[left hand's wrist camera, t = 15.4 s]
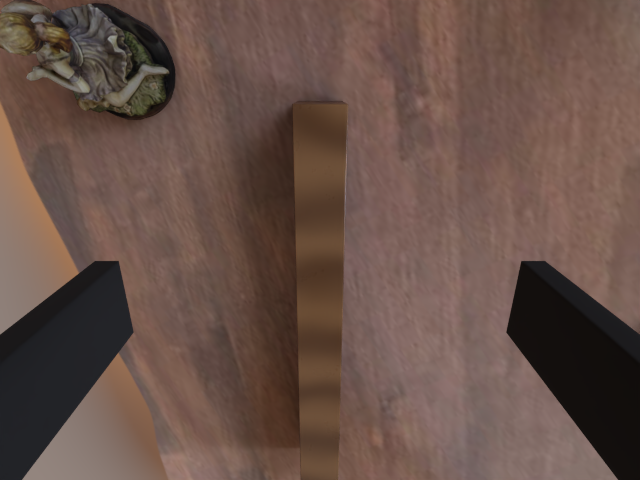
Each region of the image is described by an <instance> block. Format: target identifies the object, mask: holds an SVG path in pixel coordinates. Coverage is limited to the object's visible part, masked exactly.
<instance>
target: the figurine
mask: <svg viewBox="0 0 640 480" xmlns="http://www.w3.org/2000/svg"><path fill="white" fill-rule="evenodd" d="M81 5H82V4H81ZM1 12H2V13H1V14H0V48H2V49H5V50H6V51H7V52H8V53H15V54H20V55H23V56H28V55H31V54H36V56H37V59H38V62H39V64H40V65H39V66H34V67H32V72H30V73H29V74H28V75H27V77H26V78H27V79H29V80H30V81H33V80H38V79H40V78H41V77H47V78H49V79H51V80H52V81H54V82H56V83H58V84H59V85H61V86H63V87H65V88H68V89H70V90H73V92H74V94H75V97H76V100H77V104H78V106H79V107H80V108H81V109H83V110H84V111H88V110H89V109H92V110H93V111H96V112H102V111H104V110H106V111H108V112H110V113H112V114H114V115H117V116H119V117H122V118H125V119H131V120H137V119H143V118H147V117H150V116H153V115H155V114H156V113H158V112H159V111H161V110H162V109H163V108H164V107H165V106H166V105H167V103H168V102H169V100H170V99H171V97H172V93H173V90H174V86H175V68H174V64H173V60H172V57H171V55H170V53H169V50H168V49H167V47H166V45H165V43H164V42H163V40H162V39H161V38H160V37H159V36H158V35H157V34H156V33H155V32H154V31H153V30H152V29H151V28H150V27H149V26H148V25H146V24H144V23H143V22H141V21H138V20H136V19H135V18H133V17H131V16H130V15H128V14H126V13H124V12H123V11H121V10H119V9H117V8H115V7H113V6H111V5H108V4H100V3H94V4H87V5H82V6H81V7H72V8H67V9H66V10H58V11H56V12H55V13H53V14H52V12H51V10H50V9H49V8H47V7H45V6H43V5H42V4H40V3H37V2H35V1H32V0H14V1H12V2H10V3H9V4H7V5H6V6H4V7H3V9H2V10H1ZM52 17H53V18H52ZM51 19H52V23H51Z"/></svg>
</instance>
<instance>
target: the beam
mask: <svg viewBox="0 0 640 480" xmlns="http://www.w3.org/2000/svg"><path fill="white" fill-rule="evenodd" d="M292 115H293V160H294V204H295V248H296V292H297V336H298V380H299V424H300V468H301V480H338V463H339V426H340V389H341V352H342V315H343V278H344V241H345V204H346V167H347V130H348V104H346V103H345V102H343V101H297V102H296V103H294V104H292Z"/></svg>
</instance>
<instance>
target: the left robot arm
mask: <svg viewBox="0 0 640 480" xmlns="http://www.w3.org/2000/svg"><path fill="white" fill-rule="evenodd" d="M132 334H133V327H132V322H131V318H130V313H129V308H128V304H127V299H126V294H125V289H124V285H123V280H122V275H121V270H120V266H119V261H95V262H93V263H92V264H91V265H89V266H88V267H87V268H86V269H84V270H83V271H82V272H80V273H79V274H78V275H77V276H75V277H74V278H73V279H71V280H70V281H69V282H68V283H66V284H65V285H64V286H62V287H61V288H60V289H59V290H57V291H56V292H55V293H53V294H52V295H51V296H50V297H48V298H47V299H46V300H44V301H43V302H42V303H41V304H39V305H38V306H37V307H35V308H34V309H33V310H31V311H30V312H29V313H28V314H26V315H25V316H24V317H23V318H21V319H20V320H19V321H17V322H16V323H15V324H13V325H12V326H11V327H10V328H8V329H7V330H6V331H4V332H3V333H2V334H1V335H0V480H22V479H23V478H24V476H25V475H26V474H27V472H28V471H29V470H30V468H31V467H32V466H33V464H34V463H35V462H36V460H37V459H38V458H39V456H40V455H41V454H42V452H43V451H44V450H45V449H46V447H47V446H48V445H49V443H50V442H51V441H52V439H53V438H54V437H55V435H56V434H57V433H58V431H59V430H60V429H61V427H62V426H63V425H64V423H65V422H66V421H67V419H68V418H69V417H70V416H71V414H72V413H73V412H74V410H75V409H76V408H77V406H78V405H79V404H80V402H81V401H82V400H83V398H84V397H85V396H86V394H87V393H88V392H89V390H90V389H91V388H92V387H93V385H94V384H95V383H96V381H97V380H98V379H99V377H100V376H101V375H102V373H103V372H104V371H105V369H106V368H107V367H108V365H109V364H110V363H111V361H112V360H113V359H114V358H115V356H116V355H117V354H118V352H119V351H120V350H121V348H122V347H123V346H124V344H125V343H126V342H127V340H128V339H129V338H130V336H131V335H132ZM507 334H508V335H509V336H510V338H511V339H512V340H513V342H514V343H515V344H516V346H517V347H518V348H519V350H520V351H521V352H522V354H523V355H524V356H525V358H526V359H527V360H528V361H529V363H530V364H531V365H532V367H533V368H534V369H535V371H536V372H537V373H538V375H539V376H540V377H541V379H542V380H543V381H544V383H545V384H546V385H547V387H548V388H549V389H550V390H551V392H552V393H553V394H554V396H555V397H556V398H557V400H558V401H559V402H560V404H561V405H562V406H563V408H564V409H565V410H566V412H567V413H568V414H569V416H570V417H571V418H572V420H573V421H574V422H575V423H576V425H577V426H578V427H579V429H580V430H581V431H582V433H583V434H584V435H585V437H586V438H587V439H588V441H589V442H590V443H591V445H592V446H593V447H594V449H595V450H596V451H597V452H598V454H599V455H600V456H601V458H602V459H603V460H604V462H605V463H606V464H607V466H608V467H609V468H610V470H611V471H612V472H613V474H614V475H615V476H616V478H617V479H618V480H640V335H639V334H638V333H637V332H636V331H634V330H633V329H632V328H630V327H629V326H628V325H627V324H625V323H624V322H623V321H621V320H620V319H619V318H618V317H616V316H615V315H614V314H612V313H611V312H610V311H609V310H607V309H606V308H605V307H603V306H602V305H601V304H600V303H598V302H597V301H596V300H594V299H593V298H592V297H591V296H589V295H588V294H587V293H585V292H584V291H583V290H581V289H580V288H579V287H578V286H576V285H575V284H574V283H572V282H571V281H570V280H569V279H567V278H566V277H565V276H563V275H562V274H561V273H560V272H558V271H557V270H556V269H554V268H553V267H552V266H551V265H549V264H548V263H547V262H545V261H521V266H520V270H519V275H518V280H517V285H516V289H515V294H514V299H513V304H512V308H511V313H510V318H509V322H508V327H507Z"/></svg>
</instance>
